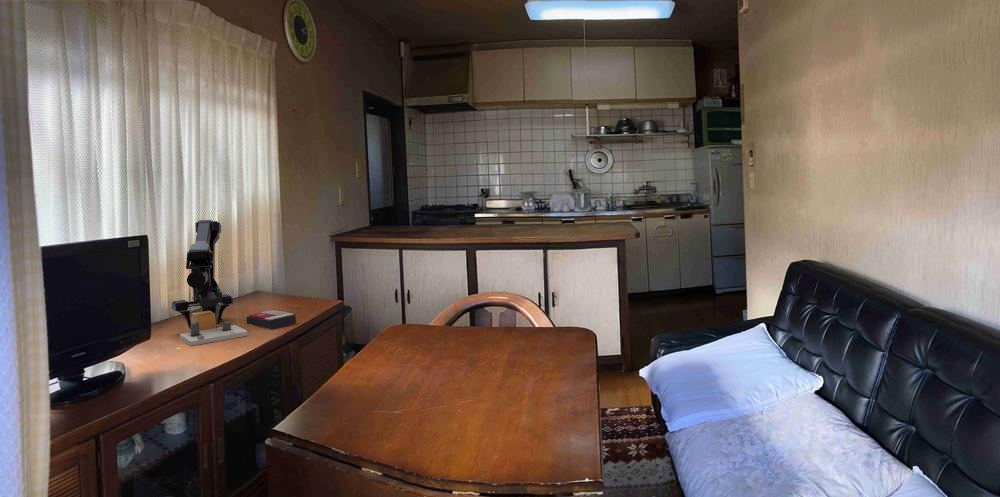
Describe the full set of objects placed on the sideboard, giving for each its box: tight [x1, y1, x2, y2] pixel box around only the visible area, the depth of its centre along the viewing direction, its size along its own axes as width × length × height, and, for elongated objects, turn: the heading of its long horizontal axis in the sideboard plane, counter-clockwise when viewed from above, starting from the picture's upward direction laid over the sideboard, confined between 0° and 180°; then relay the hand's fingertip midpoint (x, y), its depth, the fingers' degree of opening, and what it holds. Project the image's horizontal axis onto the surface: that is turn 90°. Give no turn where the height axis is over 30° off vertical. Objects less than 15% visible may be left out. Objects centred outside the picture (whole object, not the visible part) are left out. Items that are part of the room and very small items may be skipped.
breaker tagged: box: [221, 320, 232, 331], centre depth 200 cm, size 3×3×4 cm
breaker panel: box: [179, 324, 249, 347], centre depth 196 cm, size 12×18×2 cm, turn 134°
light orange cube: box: [191, 311, 217, 331], centre depth 205 cm, size 6×6×6 cm
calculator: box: [246, 309, 297, 331], centre depth 215 cm, size 11×4×15 cm
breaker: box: [190, 322, 200, 336], centre depth 193 cm, size 3×3×4 cm
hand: (204, 326), depth 205 cm, fingers open, 9 cm apart
